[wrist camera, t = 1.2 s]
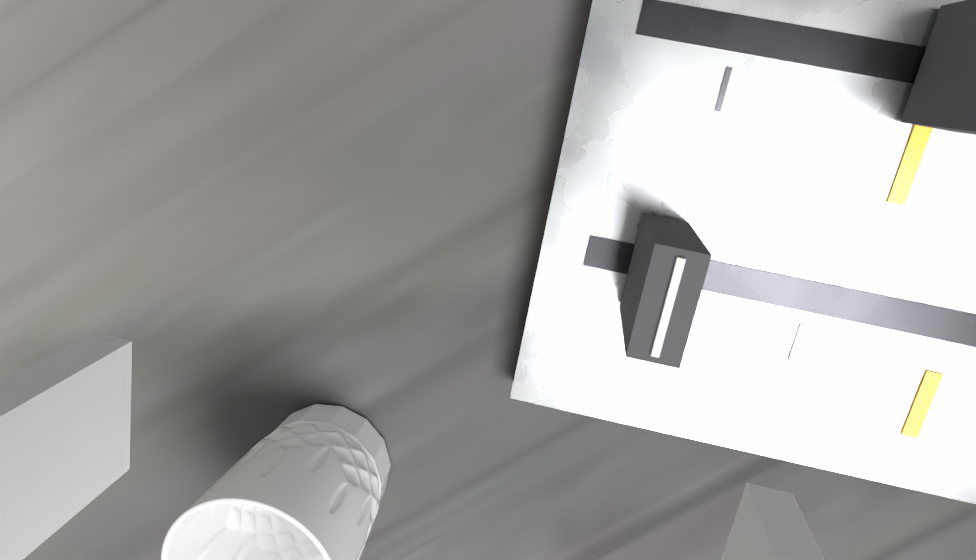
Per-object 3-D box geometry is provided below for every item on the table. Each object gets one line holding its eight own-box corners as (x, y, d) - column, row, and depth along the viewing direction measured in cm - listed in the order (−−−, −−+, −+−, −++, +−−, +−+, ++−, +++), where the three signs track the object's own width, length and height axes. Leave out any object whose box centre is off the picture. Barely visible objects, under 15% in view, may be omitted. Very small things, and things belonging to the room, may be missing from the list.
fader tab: (642, 212, 30) (655, 244, 24) (688, 221, 30) (712, 256, 24) (619, 306, 31) (625, 358, 25) (663, 315, 31) (680, 370, 25)
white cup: (400, 398, 37) (334, 509, 27) (403, 526, 39) (342, 669, 30) (260, 387, 38) (149, 490, 28) (270, 512, 40) (170, 646, 31)
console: (611, -89, 29) (613, -101, 27) (1219, 12, 27) (1269, 6, 25) (514, 380, 36) (509, 398, 34) (998, 490, 34) (1024, 516, 32)
